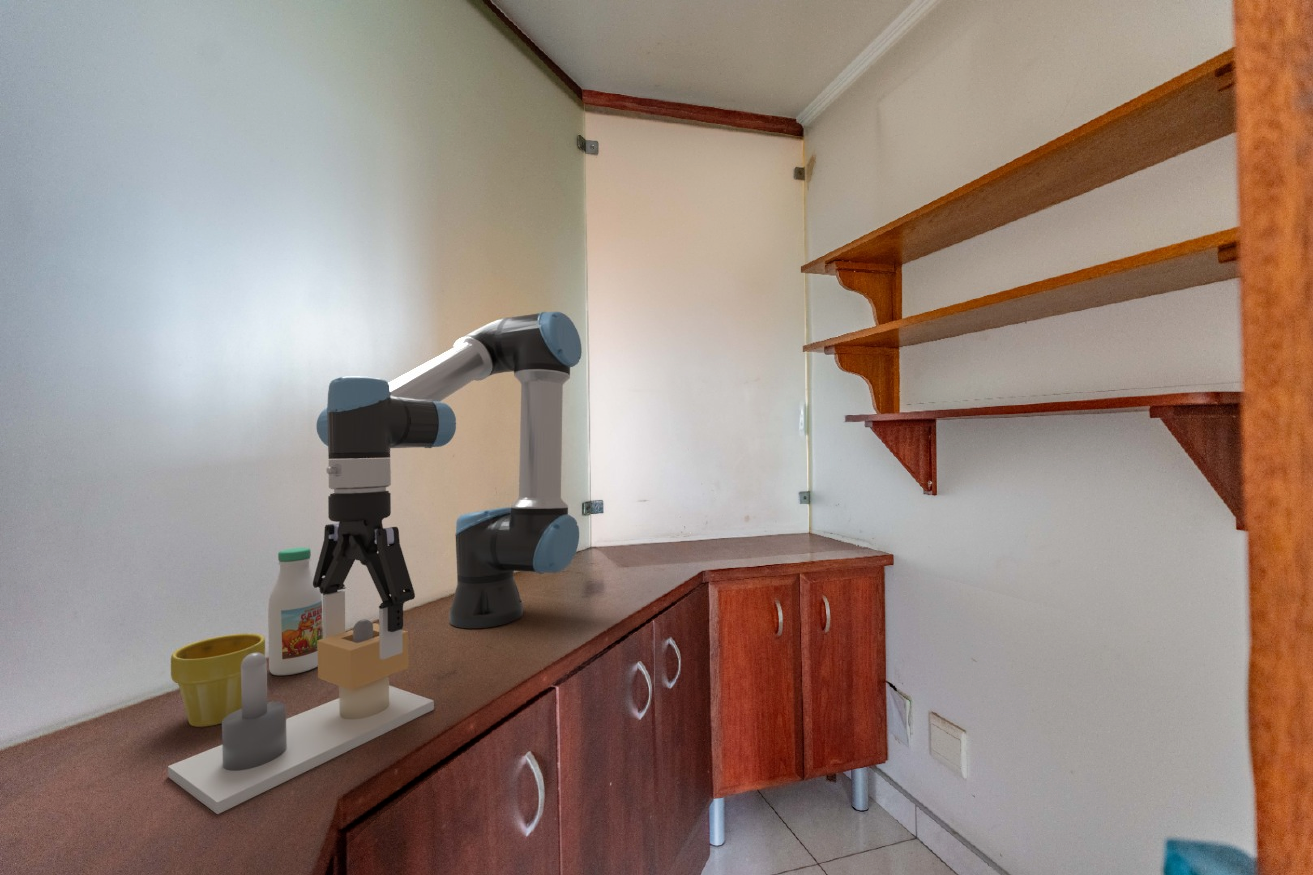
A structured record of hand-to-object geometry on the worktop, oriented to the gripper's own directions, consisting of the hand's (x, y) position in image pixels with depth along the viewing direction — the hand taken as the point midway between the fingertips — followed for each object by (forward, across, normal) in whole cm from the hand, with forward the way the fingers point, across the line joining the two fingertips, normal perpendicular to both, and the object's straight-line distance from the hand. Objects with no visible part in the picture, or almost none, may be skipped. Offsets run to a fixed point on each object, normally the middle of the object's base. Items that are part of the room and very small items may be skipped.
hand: (361, 647), depth 75 cm
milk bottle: (+10, -28, +5) cm, 30 cm away
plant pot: (+10, -19, -9) cm, 23 cm away
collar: (+4, 0, 0) cm, 4 cm away
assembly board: (+10, 0, -6) cm, 11 cm away
